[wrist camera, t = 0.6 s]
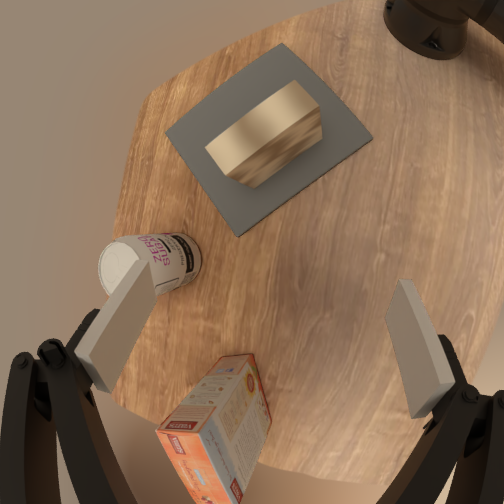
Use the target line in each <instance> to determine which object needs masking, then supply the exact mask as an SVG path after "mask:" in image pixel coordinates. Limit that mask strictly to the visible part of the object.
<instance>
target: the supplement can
mask: <svg viewBox="0 0 504 504" xmlns="http://www.w3.org/2000/svg"><path fill="white" fill-rule="evenodd" d="M136 260H143V261H149V265H150V269H151V274H152V279H153V284H154V288H155V293H156V296H159V295H161V294H164V293H166V292H169V291H171V290H174V289H176V288H179V287H181V286H183V285H186V284H188V283H189V282H191V281H192V280H194V278H195V277H196V276H197V274H198V273H199V269H200V266H201V255H200V252H199V249H198V247H197V245H196V243H195V242H194V241H193V240H192V239H191V238H190V237H188V236H187V235H185V234H181V233H161V234H145V235H130V236H123V237H119V238H116V239H115V240H114V241H113V242H112V243H111V244H109V245H108V246H107V247H106V248H105V249H104V250H103V252H102V254H101V256H100V259H99V265H98V270H99V278H100V281H101V284H102V286H103V288H104V289H105V291H106V292H107V294H108V295H109V296H111V294H112V293H113V291H114V290H115V288H116V287H117V286H118V284H119V283H120V281H121V280H122V279H123V277H124V276H125V275H126V273H127V272H128V270H129V269H130V268H131V266H132V265H133V264H134V262H135V261H136Z"/></svg>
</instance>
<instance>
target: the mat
mask: <svg viewBox="0 0 504 504" xmlns="http://www.w3.org/2000/svg"><path fill="white" fill-rule="evenodd" d="M293 80H296V81H297V82H298V83H299V84H300V85H301V87H302V88H303V89H304V90H305V91H306V92H307V93H308V94H309V95H310V96H311V97H312V98H313V99H314V100H315V101H316V102H317V103H318V105H319V107H320V117H321V127H322V139H321V140H320V141H318V142H317V143H316V144H314V145H313V146H311V147H310V148H309V149H307V150H306V151H304V152H303V153H302V154H300V155H299V156H298V157H296V158H295V159H294V160H292V161H291V162H289V163H288V164H287V165H285V166H284V167H283V168H281V169H280V170H279V171H277V172H276V173H275V174H273V175H272V176H271V177H269V178H268V179H267V180H265V181H264V182H263V183H261V184H260V185H259V186H258V187H256V188H255V189H253V188H251V187H249V186H247V185H244V184H242V183H240V182H238V181H236V180H234V179H232V178H230V177H227V176H225V174H224V173H223V172H222V170H221V169H220V168H219V166H218V165H217V163H216V162H215V161H214V159H213V158H212V157H211V155H210V154H209V153H208V151H207V150H206V148H205V147H206V146H207V145H208V144H209V143H210V142H211V141H212V140H214V139H215V138H216V137H217V136H218V135H220V134H221V133H222V132H223V131H225V130H226V129H227V128H228V127H230V126H231V125H232V124H233V123H235V122H236V121H237V120H239V119H240V118H241V117H243V116H244V115H245V114H246V113H248V112H249V111H250V110H252V109H253V108H254V107H256V106H257V105H259V104H260V103H261V102H263V101H264V100H265V99H267V98H268V97H270V96H271V95H272V94H274V93H275V92H277V91H278V90H279V89H281V88H282V87H284V86H285V85H287V84H288V83H290V82H292V81H293ZM165 134H166V135H167V137H168V138H169V140H170V141H171V143H172V144H173V146H174V147H175V148H176V150H177V151H178V153H179V154H180V156H181V157H182V159H183V160H184V161H185V163H186V164H187V166H188V167H189V169H190V170H191V172H192V173H193V175H194V176H195V177H196V179H197V180H198V182H199V183H200V185H201V186H202V188H203V189H204V190H205V192H206V193H207V195H208V196H209V198H210V199H211V201H212V202H213V203H214V205H215V206H216V208H217V209H218V211H219V212H220V214H221V215H222V216H223V218H224V219H225V221H226V222H227V224H228V225H229V227H230V228H231V229H232V231H233V232H234V234H235V235H236V237H240V236H241V235H242V234H244V233H245V232H246V231H248V230H249V229H250V228H252V227H253V226H254V225H256V224H257V223H258V222H260V221H261V220H262V219H264V218H265V217H266V216H268V215H269V214H270V213H272V212H273V211H275V210H276V209H277V208H279V207H280V206H281V205H283V204H284V203H285V202H287V201H288V200H289V199H291V198H292V197H293V196H295V195H296V194H298V193H299V192H300V191H302V190H303V189H304V188H306V187H307V186H308V185H310V184H311V183H313V182H314V181H315V180H317V179H318V178H319V177H321V176H322V175H324V174H325V173H326V172H328V171H329V170H330V169H332V168H333V167H335V166H336V165H337V164H339V163H340V162H342V161H343V160H344V159H346V158H347V157H349V156H350V155H351V154H353V153H354V152H356V151H357V150H358V149H360V148H361V147H363V146H364V145H365V144H367V143H368V142H370V141H371V140H372V139H373V137H372V135H371V134H370V133H369V132H368V130H367V129H366V128H365V127H364V126H363V124H362V123H361V122H360V121H359V120H358V119H357V117H356V116H355V115H354V114H353V113H352V112H351V111H350V109H349V108H348V107H347V106H346V105H345V104H344V103H343V102H342V101H341V100H340V98H339V97H338V96H337V95H336V94H335V93H334V92H333V91H332V90H331V89H330V88H329V87H328V86H327V85H326V84H325V83H324V82H323V81H322V80H321V79H320V78H319V77H318V76H317V75H316V74H315V73H314V72H313V71H312V70H311V69H310V68H309V67H308V66H307V65H306V64H305V63H304V62H303V61H302V60H301V59H300V58H299V57H297V56H296V55H295V54H294V53H293V52H292V51H291V50H290V49H289V48H287V47H286V46H285V45H284V44H283V43H281V44H279V45H277V46H276V47H274V48H273V49H271V50H270V51H268V52H267V53H265V54H264V55H262V56H261V57H259V58H258V59H256V60H255V61H253V62H252V63H250V64H249V65H248V66H246V67H245V68H243V69H242V70H241V71H239V72H238V73H237V74H235V75H234V76H232V77H231V78H230V79H228V80H227V81H226V82H224V83H223V84H222V85H221V86H219V87H218V88H217V89H215V90H214V91H213V92H212V93H210V94H209V95H208V96H207V97H205V98H204V99H203V100H202V101H201V102H199V103H198V104H197V105H196V106H194V107H193V108H192V109H191V110H190V111H189V112H187V113H186V114H185V115H184V116H183V117H182V118H181V119H179V120H178V121H177V122H176V123H175V124H174V125H173V126H172V127H170V128H169V129H168V130H167V131H166V132H165Z"/></svg>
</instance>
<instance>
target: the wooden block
mask: <svg viewBox="0 0 504 504" xmlns="http://www.w3.org/2000/svg"><path fill="white" fill-rule="evenodd" d="M321 139H322V127H321V117H320V107H319V105H318V103H317V102H316V101H315V100H314V99H313V98H312V97H311V96H310V95H309V94H308V93H307V92H306V91H305V90H304V89H303V88H302V87H301V85H300V84H299V83H298V82H297V81H296V80H293V81H292V82H290V83H288V84H287V85H285V86H284V87H282V88H281V89H279V90H278V91H277V92H275V93H274V94H272V95H271V96H270V97H268V98H267V99H265V100H264V101H263V102H261V103H260V104H259V105H257V106H256V107H254V108H253V109H252V110H250V111H249V112H248V113H246V114H245V115H244V116H243V117H241V118H240V119H239V120H237V121H236V122H235V123H233V124H232V125H231V126H230V127H228V128H227V129H226V130H225V131H223V132H222V133H221V134H220V135H218V136H217V137H216V138H215V139H214V140H212V141H211V142H210V143H209V144H208V145H207V146H206V147H205V148H206V150H207V151H208V153H209V154H210V155H211V157H212V158H213V159H214V161H215V162H216V163H217V165H218V166H219V168H220V169H221V170H222V172H223V173H224V174H225V176H227V177H230V178H232V179H234V180H236V181H238V182H240V183H242V184H244V185H247V186H249V187H251V188H253V189H255V188H256V187H258V186H259V185H260V184H261V183H263V182H264V181H265V180H267V179H268V178H269V177H271V176H272V175H273V174H275V173H276V172H277V171H279V170H280V169H281V168H283V167H284V166H285V165H287V164H288V163H289V162H291V161H292V160H294V159H295V158H296V157H298V156H299V155H300V154H302V153H303V152H304V151H306V150H307V149H309V148H310V147H311V146H313V145H314V144H316V143H317V142H318V141H320V140H321Z"/></svg>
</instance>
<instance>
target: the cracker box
mask: <svg viewBox="0 0 504 504" xmlns="http://www.w3.org/2000/svg"><path fill="white" fill-rule="evenodd" d="M271 423H272V420H271V417H270V414H269V410H268V407H267V403H266V400H265V396H264V393H263V389H262V386H261V382H260V379H259V375H258V371H257V368H256V364H255V361H254V357H253V354H247V355H238V356H228V357H221V358H220V359H219V360H218V361H217V362H216V364H215V365H214V366H213V367H212V368H211V369H210V370H209V372H208V373H207V374H206V375H205V376H204V377H203V378H202V380H201V381H200V382H199V383H198V384H197V385H196V386H195V387H194V389H193V390H192V391H191V392H190V393H189V394H188V395H187V396H186V397H185V399H184V400H183V401H182V402H181V403H180V404H179V405H178V406H177V407H176V409H175V410H174V411H173V412H172V413H171V414H170V415H169V416H168V417H167V418H166V419H165V420H164V422H163V423H162V424H161V425H160V426H159V427H158V428H157V429H156V433H157V435H158V437H159V439H160V441H161V443H162V445H163V447H164V449H165V451H166V453H167V455H168V456H169V458H170V460H171V462H172V464H173V466H174V467H175V469H176V470H177V473H178V474H179V476H180V478H181V479H182V481H183V483H184V485H185V486H186V488H187V490H188V491H189V493H190V494H191V496H192V498H193V500H194V501H195V503H196V504H240V502H241V499H242V497H243V495H244V492H245V490H246V487H247V485H248V482H249V480H250V478H251V475H252V473H253V470H254V468H255V465H256V463H257V460H258V458H259V455H260V453H261V450H262V447H263V445H264V442H265V440H266V437H267V434H268V431H269V429H270V426H271Z"/></svg>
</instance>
